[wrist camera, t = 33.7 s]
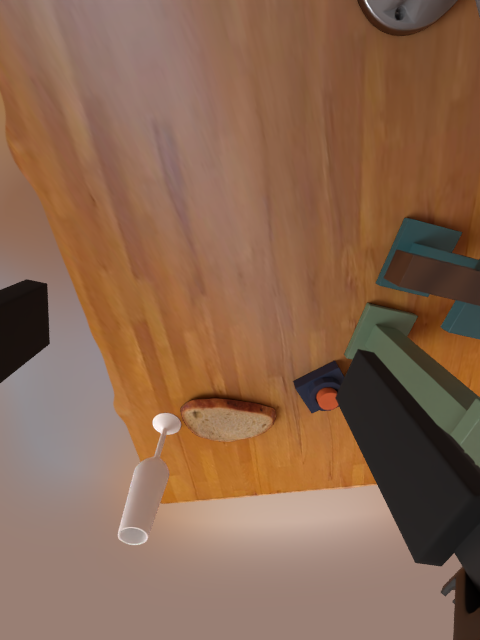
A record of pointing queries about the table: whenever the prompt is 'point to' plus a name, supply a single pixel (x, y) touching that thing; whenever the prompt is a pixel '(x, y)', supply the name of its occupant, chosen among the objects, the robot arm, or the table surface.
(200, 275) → the table surface
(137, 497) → the champagne flute
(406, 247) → the low stand
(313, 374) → the push button switch
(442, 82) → the table surface
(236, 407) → the bread slice
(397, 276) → the rectangular bar
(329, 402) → the button
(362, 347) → the stand
